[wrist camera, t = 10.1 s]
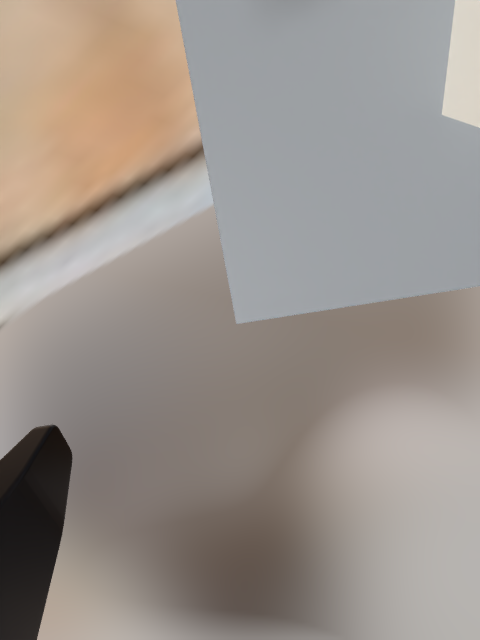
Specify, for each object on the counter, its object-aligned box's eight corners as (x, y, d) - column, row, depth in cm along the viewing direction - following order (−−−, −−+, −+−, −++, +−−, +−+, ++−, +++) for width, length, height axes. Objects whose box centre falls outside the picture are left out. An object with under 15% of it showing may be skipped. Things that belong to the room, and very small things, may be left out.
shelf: (234, 297, 22) (240, 364, 18) (137, -229, 12) (94, -384, 8) (546, 247, 22) (635, 304, 17) (711, -346, 12) (1029, -589, 7)
